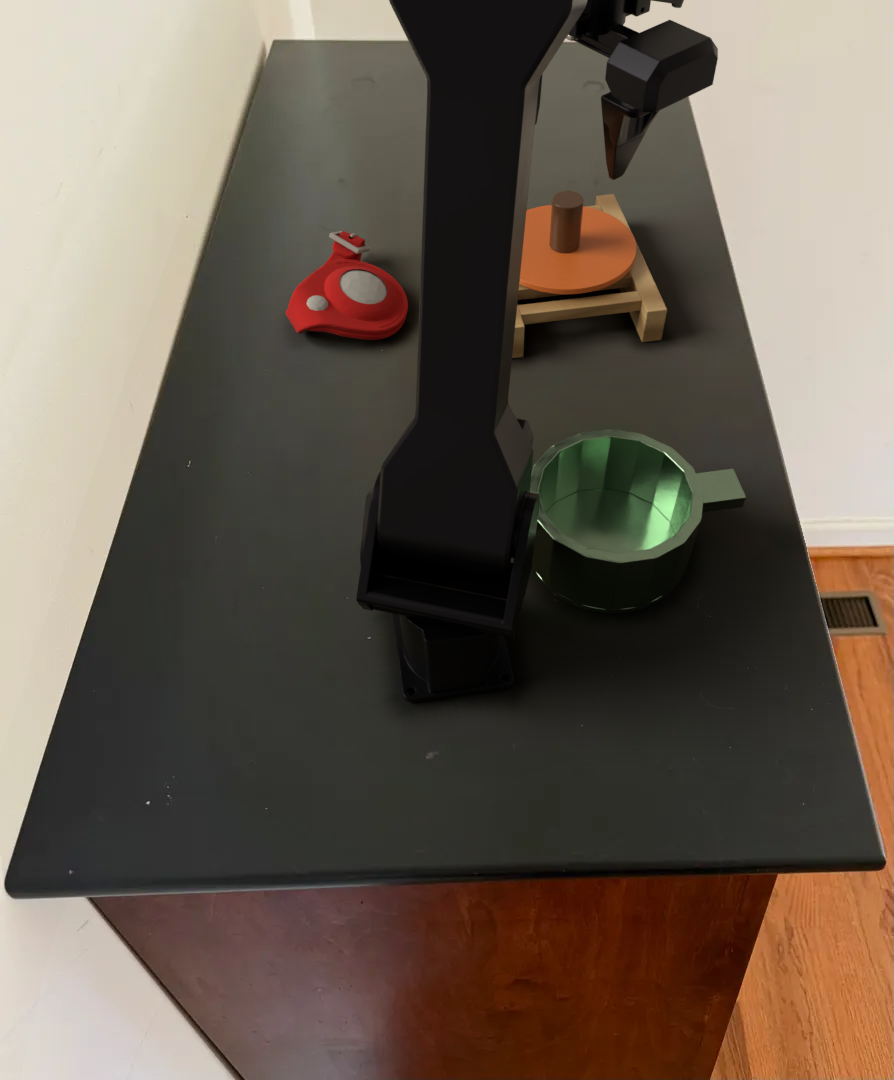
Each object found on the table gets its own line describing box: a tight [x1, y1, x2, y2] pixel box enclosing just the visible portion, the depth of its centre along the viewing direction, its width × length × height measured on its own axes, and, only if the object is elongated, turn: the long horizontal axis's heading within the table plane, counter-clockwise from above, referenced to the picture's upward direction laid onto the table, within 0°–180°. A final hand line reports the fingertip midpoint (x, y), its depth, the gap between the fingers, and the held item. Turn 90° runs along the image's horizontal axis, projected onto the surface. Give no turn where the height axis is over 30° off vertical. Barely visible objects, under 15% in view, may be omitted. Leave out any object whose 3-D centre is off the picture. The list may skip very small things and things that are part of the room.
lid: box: [519, 190, 637, 295], centre depth 71 cm, size 11×11×5 cm
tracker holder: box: [285, 230, 409, 341], centre depth 74 cm, size 12×4×10 cm
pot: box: [530, 428, 747, 615], centre depth 57 cm, size 10×16×6 cm, turn 98°
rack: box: [512, 193, 668, 359], centre depth 74 cm, size 16×13×3 cm
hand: (571, 151), depth 66 cm, fingers open, 9 cm apart
